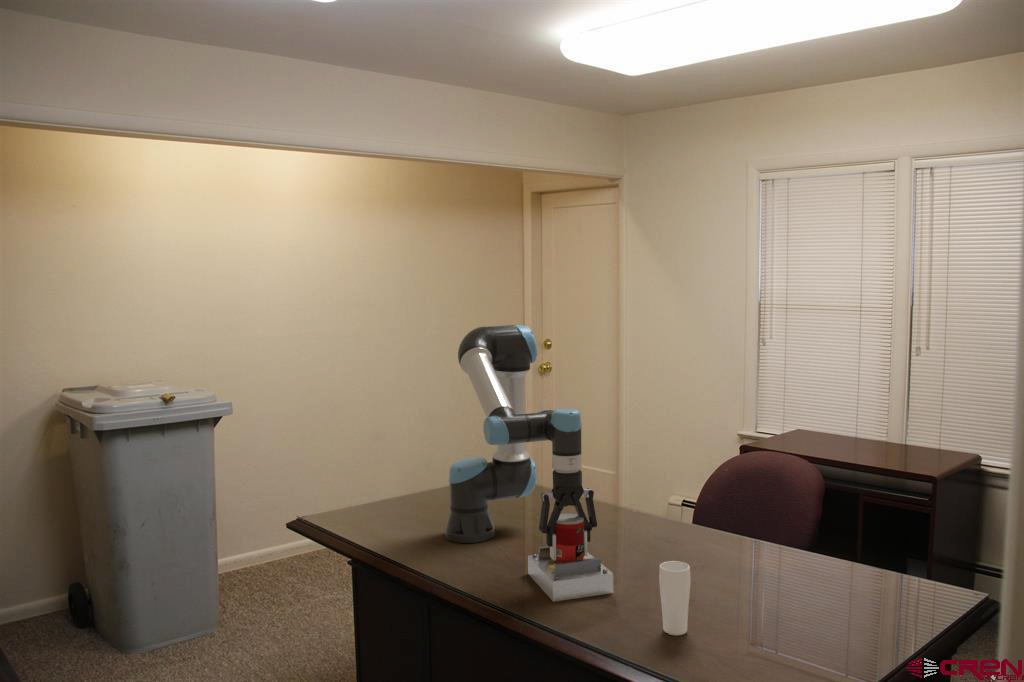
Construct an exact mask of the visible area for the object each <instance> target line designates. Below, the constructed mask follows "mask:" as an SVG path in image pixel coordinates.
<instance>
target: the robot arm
mask: <svg viewBox="0 0 1024 682" xmlns="http://www.w3.org/2000/svg"><path fill="white" fill-rule="evenodd" d="M537 357H538V346H537V340H536V338H535V335H534V333H533V331H532V329H531V328H530V327H528V326H527V325H522V324H521V325H517V324H509V325H508V324H507V325H496V326H494V325H493V326H491V325H490V326H479V327H476V328H474V329H472V330H471V331H469V332H468V333H467V334H466V335H465V336H464V337H463V338H462V340H461V342H460V344H459V346H458V351H457V358H458V364H459V366H460V368H461V370H462V371H463V373H465V374H467V375H468V378H469V380H470V382H471V385H472V388H473V389H474V392H475V394H476V396H477V398H478V401H479V404H480V405H481V408H482V409H483V412H484V415H485V417H486V418H485V419H484V421H483V429H482V430H483V435H484V440H485V441H486V443H487V444H488V445H490V446H497V449H496V451H494V453H493V454H492V460H491V461H489V462H488V461H487V459H486V458H483V457H471V458H465V459H461V460H459V461H456V462H455V463H453V464H452V465H451V466H450V468H449V476H448V482H449V483H448V484H449V506H450V507H449V508H450V509H449V510H450V512H449V516H448V518H447V522H446V526H445V532H444V533H445V534H444V537H445V538H446V540H448V541H450V542H453V543H458V544H475V543H481V542H486V541H488V540H490V539H492V538H494V537H495V526H494V522H493V519H492V518H491V515H490V512H489V501H495V500H496V501H497V500H505V499H514V498H515V499H518V498H521V497H527V496H529V495H530V494H532V492H533V491H534V490H535V487H536V483H537V470H536V468H537V467H536V463H535V461H534V460H533V459H532V458H530V457H531V456H530V453H529V452H528V451H527V450H526V443H534V442H535V443H536V442H544V441H549V442H551V443H552V444H551V447H552V448H551V452H552V453H551V454H552V465H551V466H552V469H553V471H552V489H551V491H550V492H546V493H545V492H542V493H541V495H540V496H541V502H542V504H541V509H540V510H541V511H540V517H539V518H540V519H539V524H538V530H539V531H540V532H541V533H542V534H545V537H546V542H545V543H546V546H549V547H550V557H551V558H552V559H553V560H556V535H555V534H554V533H553V532H554V529H555V526H556V522H557V520H558V518H559V516H560V514H562V513H561V512H562V511H563V510H564V508H565V507H568V506H571V507H574V509H575V511H576V514H578V515H579V516H580V517H581V518H582V517H583V519H584V556H587V552H588V543H590V542H591V532H592V530H593V528H598V527H597V526H598V522H597V521H598V520H597V515H596V510H595V504H594V503H595V502H594V494H595V491H594V490H593V489H591V488H583V471H582V470H581V469H582V468H583V467H582V466H583V465H582V464H583V463H582V461H583V460H582V459H583V458H582V456H583V455H582V425H583V423H582V417H581V412H580V411H579V409H573V408H557V409H554V410H552V409H542V410H540V411H538V412H534V413H532V412H531V413H526V375H527V374H528V373H529V371H530V370H531V364H533V363H535V362H536V361H537ZM582 496H583V497H585V505H586V510H587V515H588V518H587V515H586V513H585V511H584V509H583V505H582V503H581V501H580V500H581V498H582ZM552 498H554V500H555V502H554V504H553V510H552V511H551V514H550V508H551V504H550V502H552ZM549 514H550V517H549Z"/></svg>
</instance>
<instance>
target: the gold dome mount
mask: <svg viewBox="0 0 1024 682" xmlns="http://www.w3.org/2000/svg"><path fill="white" fill-rule="evenodd" d="M537 547H538V546H537ZM537 549H538V550H537V553H532V554H530V555H527V571H528V573H527V574H528V575H529V577H531V579H532V580H533V581H534V582H535V584H537V585H538V586H539V587H540V588H541V590H542V591H543V592H544V593H545V594H546V595H547V597H549V599H550V600H551V601H552V602H560V601H567V600H573V599H583V598H588V597H596V596H601V595H608V594H614V573H613V572H612V571H611V570H610V569H609V568H607V567H606V566H605V565H604V564H603V563H602V558H601V557H594V556H593V555H592V554H590V552H588V551H587V556H584V558H583V560H575V561H568V562H557V561H556V560H553V559H552V558H551V557H550V547H549V546H548V545H545V546H539V547H538V548H537Z"/></svg>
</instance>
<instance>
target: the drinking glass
mask: <svg viewBox="0 0 1024 682" xmlns="http://www.w3.org/2000/svg"><path fill="white" fill-rule="evenodd" d="M658 570H659V571H658V574H659V577H658V579H659V583H658V584H659V593H660V594H659V595H660V603H661V614H662V630H663V632H664V633H666V634H667V633H668V634H667V635H671V636H682V635H685V634H687V632H688V619H689V618H688V617H689V606H690V594H691V567H690V565H689V563H686V562H684V561H678V560H667V561H664V562H661V563H660V564H659V569H658Z"/></svg>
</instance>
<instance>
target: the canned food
mask: <svg viewBox="0 0 1024 682" xmlns="http://www.w3.org/2000/svg"><path fill="white" fill-rule="evenodd" d="M553 533H554V534H555V535H556V561H557V562H568V561H575V560H583V558H584V519H583V517H582V518H581V517H580V516H579V515H578V514H577V513H572V512H571V513H567V512H566V513H560V516H559V518H558V520H557V522H556V526H555V529H554V532H553Z"/></svg>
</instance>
